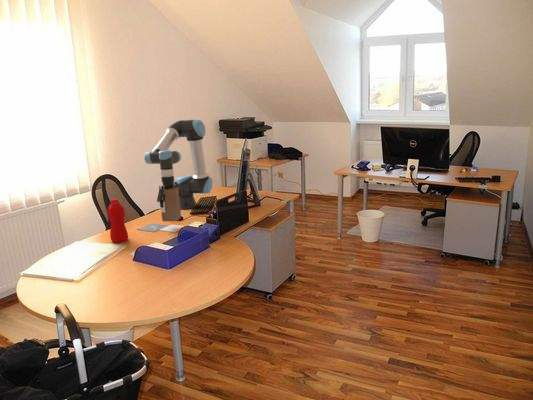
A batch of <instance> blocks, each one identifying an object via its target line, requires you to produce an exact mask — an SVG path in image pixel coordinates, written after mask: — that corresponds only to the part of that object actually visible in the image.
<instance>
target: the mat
mask: <svg viewBox="0 0 533 400" xmlns="http://www.w3.org/2000/svg"><path fill="white" fill-rule="evenodd" d="M168 225H169V224H168ZM184 226H185V225H179V224H178V225H177V224H170V225H169V226H167V227H165V228H162V229H160V230H159V232H160V231H161V232H167V233H168V232H169V233H176V232H179V231H181V230H182V229H181V228H182V227H184ZM180 229H181V230H180Z"/></svg>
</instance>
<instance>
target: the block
mask: <svg viewBox="0 0 533 400" xmlns="http://www.w3.org/2000/svg"><path fill="white" fill-rule="evenodd" d="M164 194H165V199H164V201H163V202H165V211H166V212H165V213H164V212H161V221H162V222H178V221H179V220H180V219H181V217H182V213H181V210H182V209H180V200H179V189H178V187H174V188H170V189H164V191H163V195H164Z"/></svg>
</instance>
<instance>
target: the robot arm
mask: <svg viewBox="0 0 533 400" xmlns="http://www.w3.org/2000/svg"><path fill="white" fill-rule="evenodd" d="M205 136H206V126H205V124H204V122H203V121H202V120H200V119H188V120H186V119H185V120H184V119H182V120H178V121H175V122H173V123H171V125H169V126H168V127H167V128H166V130H165V134H164V135H163V136H162V137H161V139H160V140H159V141H158V143H157V144H156V145H155V147H154V148H153V149H152V150H151V151H147V152H145V153H144V162H145V163H146V164H147V165H148V164H149V165H159V167H160V168H159V169H160V177H161V183H162V185H159V186H158V188H159V189H158V195H157V198H156V202H158V203H159V205H160V206H159V207H160V211H161V212H164V213H165V212H166V211H165V202H163V201H164V199H165V194H164V195H163V191H164V189H170V188H174V187H178V189H179V200H180V210H188V209H189V210H190V209H191V210H192V209H194V208H193V207H194V206H195V205H196V204H197V202H196V198H195V196H194V194H210V192H212V188H213V178H212V177H210V176H209V173H208V172H207V171H206V162H205V156H204V149H203V148H204V147H203V142H202V141H203V139H204V137H205ZM180 138H186V141H187V142H189V146H190V147H189V148H190V155H191V162H192V168H193V175H190V174H188V175H183V176H182V175H181V176H179V177H177V178H176V179H175V176H174V167H173V166H174V165H175V164H178V163H179V162H180V161H181V159H182V154H181V153H180V152H179V151H177V150H170V147H172V145H173V144H174V142H175V141H177V140H178V139H180Z"/></svg>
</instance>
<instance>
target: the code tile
mask: <svg viewBox="0 0 533 400" xmlns="http://www.w3.org/2000/svg"><path fill="white" fill-rule="evenodd" d="M167 226H169V224H168V225H167V224H160V223H154V222H153V223H151V224H148V225H145V226H143V227H140V228H137V231H143V232H149V233H150V232H151V233H155V232H158V231H160V229H162V228H165V227H167Z"/></svg>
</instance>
